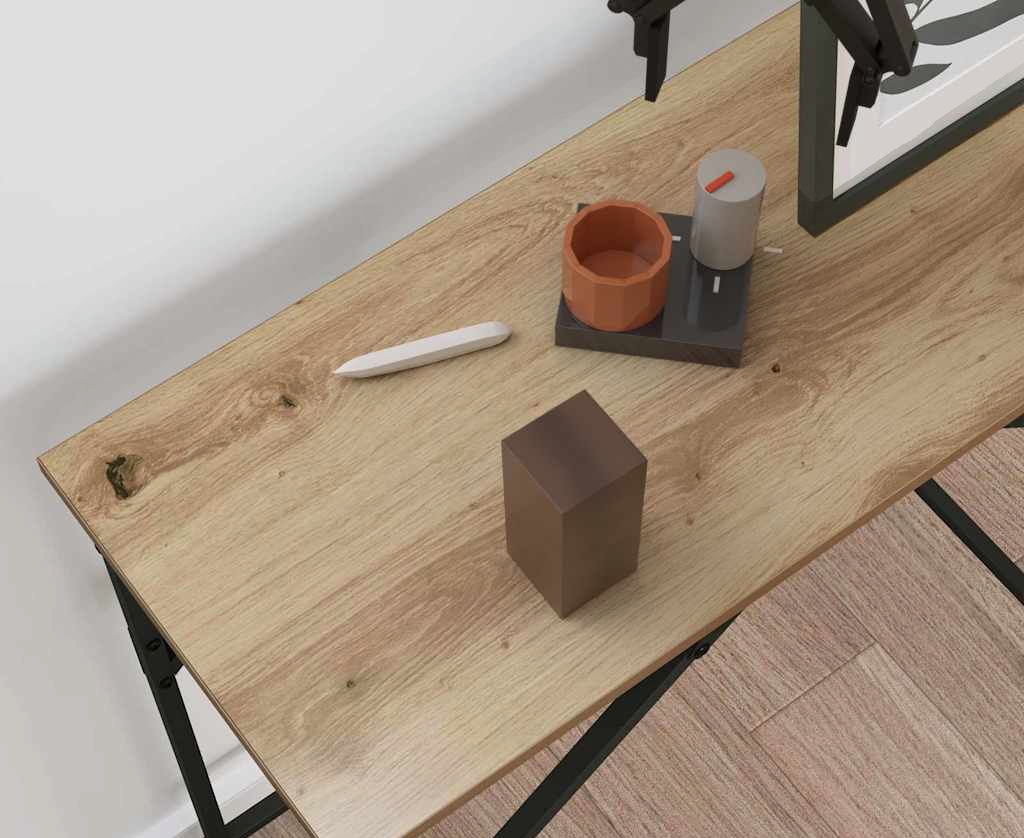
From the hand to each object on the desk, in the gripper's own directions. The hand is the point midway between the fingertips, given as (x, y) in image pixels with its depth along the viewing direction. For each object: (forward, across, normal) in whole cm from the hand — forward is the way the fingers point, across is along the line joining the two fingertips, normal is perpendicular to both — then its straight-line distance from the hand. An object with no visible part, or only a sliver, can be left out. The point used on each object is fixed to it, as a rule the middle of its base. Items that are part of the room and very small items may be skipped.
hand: (749, 110), depth 112 cm
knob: (+14, -1, -1) cm, 14 cm away
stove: (+16, -4, -4) cm, 17 cm away
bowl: (+14, -7, -8) cm, 17 cm away
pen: (+16, -19, -16) cm, 30 cm away
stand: (+16, -3, -29) cm, 34 cm away
